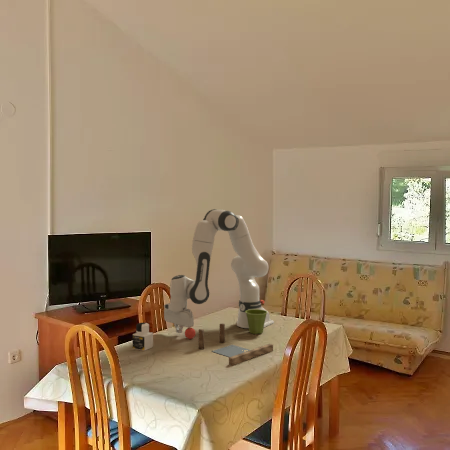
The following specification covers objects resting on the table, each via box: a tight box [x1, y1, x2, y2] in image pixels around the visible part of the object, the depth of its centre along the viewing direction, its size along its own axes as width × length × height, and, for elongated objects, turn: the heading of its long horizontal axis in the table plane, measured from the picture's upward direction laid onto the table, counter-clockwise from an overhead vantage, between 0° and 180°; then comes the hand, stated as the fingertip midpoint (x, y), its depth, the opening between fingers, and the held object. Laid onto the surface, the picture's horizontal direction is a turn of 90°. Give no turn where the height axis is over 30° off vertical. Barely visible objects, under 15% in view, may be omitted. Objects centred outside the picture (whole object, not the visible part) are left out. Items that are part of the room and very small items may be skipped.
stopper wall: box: [228, 343, 274, 366], centre depth 228 cm, size 28×2×3 cm, turn 136°
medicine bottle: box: [132, 322, 154, 352], centre depth 242 cm, size 7×7×12 cm
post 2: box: [219, 323, 226, 344], centre depth 251 cm, size 3×3×9 cm
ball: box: [184, 327, 197, 340], centre depth 257 cm, size 6×6×6 cm
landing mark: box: [211, 344, 251, 358], centre depth 236 cm, size 14×14×1 cm
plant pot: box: [245, 309, 268, 335], centre depth 268 cm, size 12×12×11 cm
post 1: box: [198, 328, 205, 350], centre depth 241 cm, size 3×3×9 cm
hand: (179, 332), depth 262 cm, fingers closed
